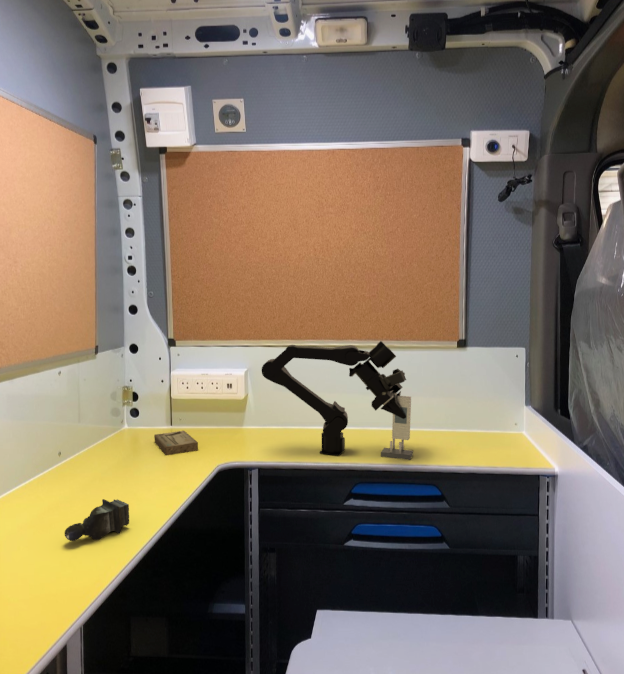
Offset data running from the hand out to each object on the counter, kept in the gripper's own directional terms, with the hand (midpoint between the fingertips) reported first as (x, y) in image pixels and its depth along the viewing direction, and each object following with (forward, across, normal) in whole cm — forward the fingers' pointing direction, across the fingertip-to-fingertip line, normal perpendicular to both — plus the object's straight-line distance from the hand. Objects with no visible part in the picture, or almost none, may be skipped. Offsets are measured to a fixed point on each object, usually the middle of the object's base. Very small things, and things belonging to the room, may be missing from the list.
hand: (406, 416), depth 165 cm
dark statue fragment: (-25, -74, +46) cm, 91 cm away
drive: (+4, 0, +6) cm, 7 cm away
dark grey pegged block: (+7, 0, +11) cm, 13 cm away
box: (-41, -14, +62) cm, 76 cm away
